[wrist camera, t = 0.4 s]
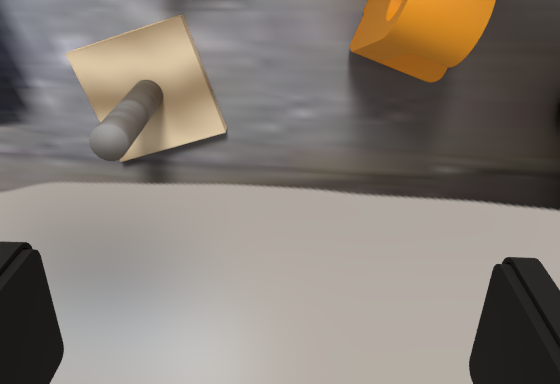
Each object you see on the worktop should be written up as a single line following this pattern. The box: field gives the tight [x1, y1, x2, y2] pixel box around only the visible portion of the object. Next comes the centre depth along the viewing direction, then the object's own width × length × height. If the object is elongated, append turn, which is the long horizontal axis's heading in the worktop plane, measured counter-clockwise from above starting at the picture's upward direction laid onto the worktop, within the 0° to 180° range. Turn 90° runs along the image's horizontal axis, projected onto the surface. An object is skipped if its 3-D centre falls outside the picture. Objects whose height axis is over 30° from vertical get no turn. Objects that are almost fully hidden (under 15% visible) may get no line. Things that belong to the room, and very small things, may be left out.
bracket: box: [350, 0, 496, 82], centre depth 34 cm, size 11×7×12 cm, turn 159°
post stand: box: [66, 14, 227, 162], centre depth 39 cm, size 10×10×11 cm
